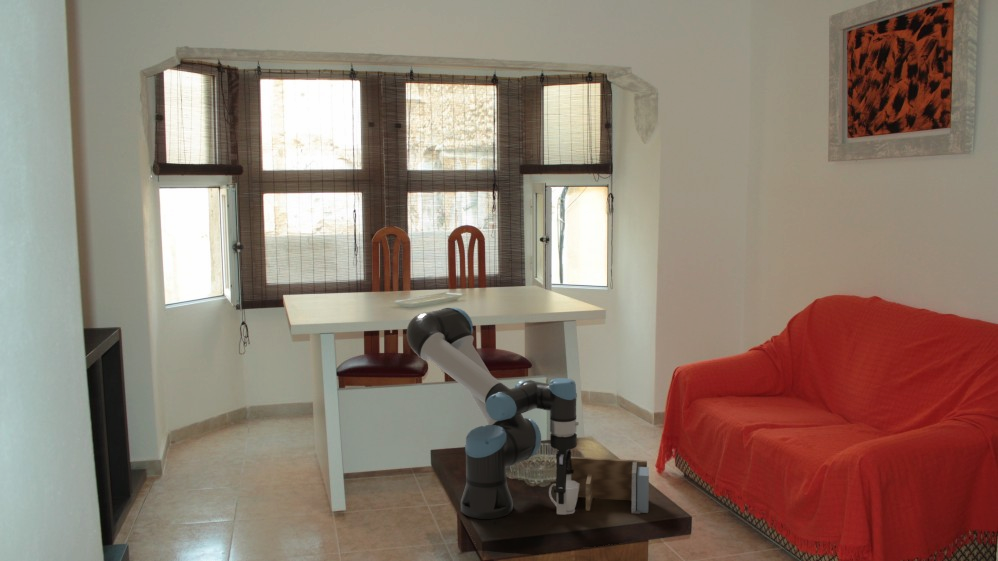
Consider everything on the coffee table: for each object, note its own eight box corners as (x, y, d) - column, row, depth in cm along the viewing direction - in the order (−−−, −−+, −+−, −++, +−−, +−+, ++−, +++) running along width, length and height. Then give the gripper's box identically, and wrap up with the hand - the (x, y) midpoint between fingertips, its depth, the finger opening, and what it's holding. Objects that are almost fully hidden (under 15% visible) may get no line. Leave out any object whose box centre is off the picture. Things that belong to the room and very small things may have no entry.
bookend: (631, 513, 236) (631, 472, 234) (632, 500, 244) (632, 461, 243) (639, 513, 235) (640, 473, 234) (640, 501, 244) (641, 462, 242)
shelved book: (636, 512, 236) (637, 475, 235) (637, 502, 243) (637, 466, 242) (648, 512, 236) (648, 475, 234) (648, 503, 243) (648, 467, 241)
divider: (585, 510, 238) (585, 483, 237) (588, 499, 246) (588, 473, 245) (589, 510, 238) (590, 483, 237) (592, 499, 246) (592, 473, 245)
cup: (570, 518, 233) (570, 490, 232) (542, 509, 239) (542, 482, 238) (584, 510, 238) (584, 483, 237) (556, 501, 245) (556, 475, 244)
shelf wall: (562, 496, 249) (562, 457, 247) (562, 494, 250) (562, 456, 248) (646, 501, 244) (646, 462, 242) (646, 499, 245) (647, 460, 244)
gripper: (572, 447, 223) (573, 522, 225) (580, 420, 247) (581, 489, 250) (544, 446, 224) (545, 521, 227) (555, 419, 248) (556, 487, 251)
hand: (564, 504), depth 238 cm, fingers open, 13 cm apart
